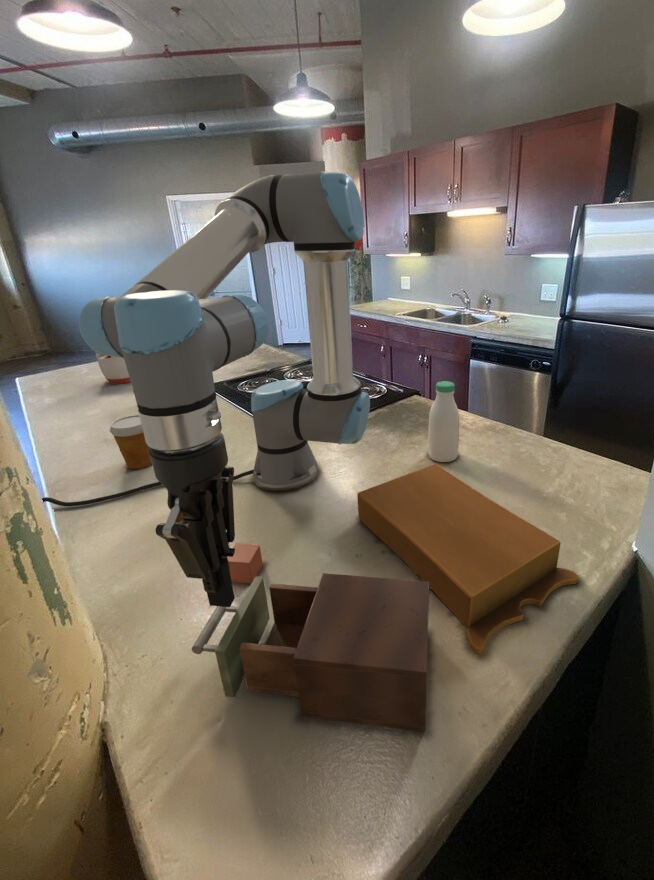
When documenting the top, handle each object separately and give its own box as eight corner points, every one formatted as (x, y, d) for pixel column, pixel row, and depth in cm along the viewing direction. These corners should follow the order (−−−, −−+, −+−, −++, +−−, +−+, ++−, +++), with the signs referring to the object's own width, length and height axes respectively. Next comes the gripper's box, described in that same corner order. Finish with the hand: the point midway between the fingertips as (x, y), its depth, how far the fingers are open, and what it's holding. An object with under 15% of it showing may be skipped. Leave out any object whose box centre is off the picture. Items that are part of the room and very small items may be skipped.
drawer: (187, 692, 52) (175, 646, 49) (231, 614, 62) (222, 573, 60) (333, 709, 49) (328, 662, 47) (352, 626, 60) (349, 583, 57)
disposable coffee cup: (169, 458, 110) (160, 417, 106) (136, 475, 102) (124, 431, 98) (145, 451, 114) (135, 411, 110) (111, 468, 106) (99, 425, 102)
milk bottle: (457, 464, 105) (460, 389, 98) (426, 461, 106) (428, 387, 99) (458, 450, 112) (461, 379, 105) (429, 447, 113) (431, 378, 106)
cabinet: (300, 716, 50) (293, 658, 46) (327, 624, 61) (322, 572, 58) (425, 731, 48) (426, 672, 44) (427, 634, 60) (429, 581, 56)
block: (227, 581, 70) (223, 560, 68) (239, 562, 74) (235, 542, 72) (252, 583, 69) (249, 562, 68) (263, 564, 73) (259, 544, 72)
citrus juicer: (90, 386, 168) (76, 338, 161) (122, 373, 184) (110, 329, 177) (124, 388, 166) (111, 338, 159) (153, 375, 182) (143, 329, 175)
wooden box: (440, 461, 94) (585, 549, 66) (440, 486, 96) (579, 581, 68) (350, 495, 82) (480, 619, 54) (351, 523, 84) (477, 655, 56)
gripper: (185, 472, 39) (226, 651, 47) (245, 415, 51) (269, 566, 59) (111, 468, 40) (165, 644, 48) (187, 413, 52) (219, 562, 60)
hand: (222, 601), depth 54 cm, fingers closed
